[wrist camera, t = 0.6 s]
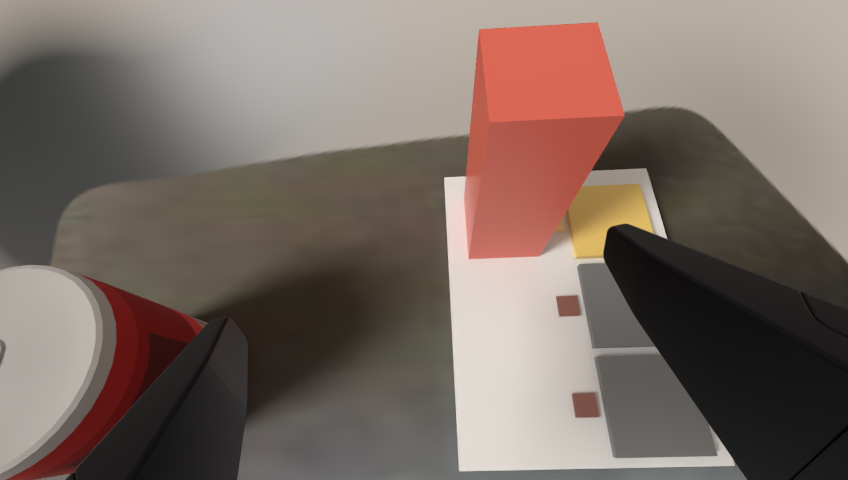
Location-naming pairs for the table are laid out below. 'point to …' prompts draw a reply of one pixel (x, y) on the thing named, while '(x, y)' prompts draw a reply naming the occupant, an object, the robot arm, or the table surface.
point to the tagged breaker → (604, 216)
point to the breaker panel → (562, 360)
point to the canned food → (74, 364)
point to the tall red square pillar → (534, 132)
